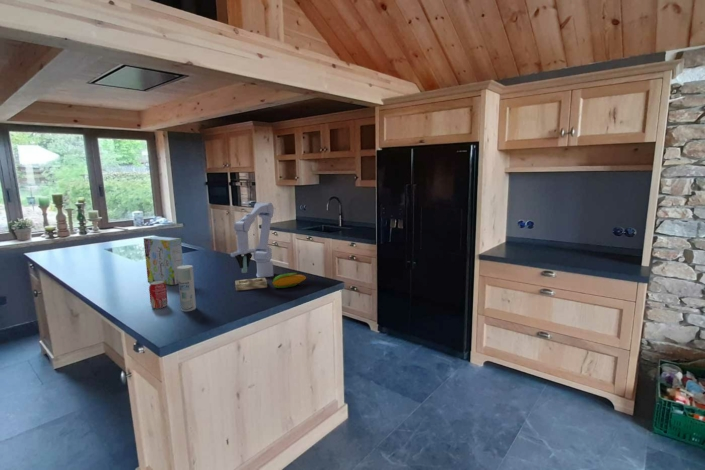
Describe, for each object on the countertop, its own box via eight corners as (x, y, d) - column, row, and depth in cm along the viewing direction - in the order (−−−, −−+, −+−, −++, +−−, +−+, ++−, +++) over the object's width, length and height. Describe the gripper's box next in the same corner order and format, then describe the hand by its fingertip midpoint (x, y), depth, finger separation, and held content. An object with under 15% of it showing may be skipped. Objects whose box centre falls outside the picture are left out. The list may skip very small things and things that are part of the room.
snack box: (186, 282, 214) (182, 237, 210) (173, 286, 206) (168, 240, 202) (159, 277, 223) (155, 235, 219) (146, 281, 215) (141, 237, 211)
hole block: (265, 283, 209) (265, 277, 209) (267, 287, 202) (266, 281, 201) (235, 286, 204) (235, 280, 203) (236, 291, 196) (235, 284, 196)
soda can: (155, 304, 178) (152, 280, 176) (170, 303, 178) (168, 279, 176) (148, 309, 171) (145, 284, 169) (164, 309, 171) (161, 284, 169)
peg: (246, 271, 208) (245, 255, 206) (247, 272, 205) (246, 256, 204) (241, 271, 206) (240, 256, 205) (242, 273, 204) (241, 257, 202)
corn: (269, 274, 200) (302, 268, 212) (269, 287, 202) (302, 281, 213) (275, 278, 194) (308, 272, 206) (275, 291, 196) (308, 285, 207)
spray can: (198, 306, 175) (194, 264, 171) (193, 311, 168) (189, 268, 165) (184, 306, 175) (180, 265, 171) (178, 311, 168) (174, 268, 165)
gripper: (250, 240, 211) (251, 263, 213) (226, 244, 200) (228, 268, 203) (257, 241, 206) (258, 265, 208) (233, 245, 196) (235, 270, 198)
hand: (244, 267), depth 205 cm, fingers closed on peg, 3 cm apart
